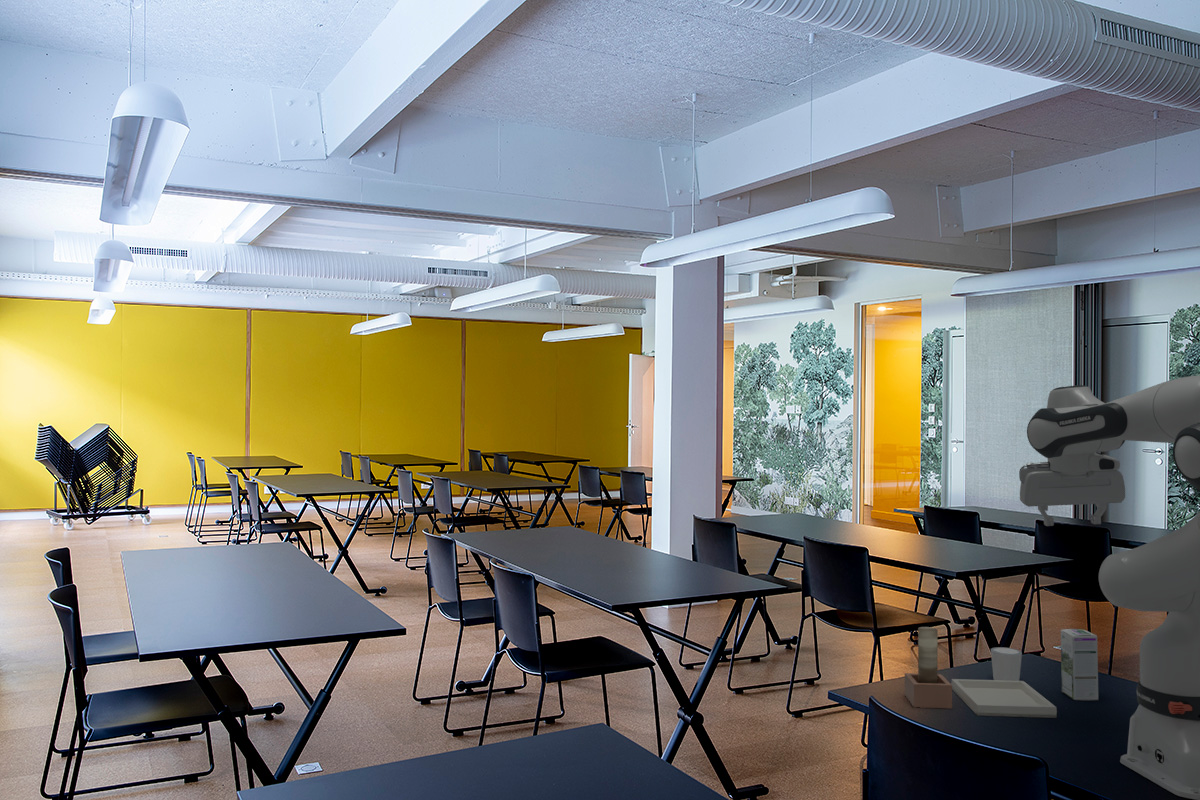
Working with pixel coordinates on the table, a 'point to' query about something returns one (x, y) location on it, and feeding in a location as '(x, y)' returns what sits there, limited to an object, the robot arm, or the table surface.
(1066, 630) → the syrup box
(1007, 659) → the grey cup
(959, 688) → the tray
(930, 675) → the olive grey ringed cylinder
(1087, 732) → the table surface
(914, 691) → the brown square sleeve
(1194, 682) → the robot arm
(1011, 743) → the table surface
